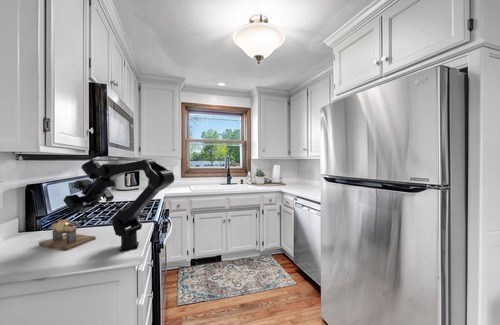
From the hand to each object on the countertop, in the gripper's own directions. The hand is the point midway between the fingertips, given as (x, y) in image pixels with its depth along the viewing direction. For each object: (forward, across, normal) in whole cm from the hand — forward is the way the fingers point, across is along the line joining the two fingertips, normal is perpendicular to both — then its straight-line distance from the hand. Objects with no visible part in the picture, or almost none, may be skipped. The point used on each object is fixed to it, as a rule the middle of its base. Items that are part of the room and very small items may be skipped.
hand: (81, 211), depth 100 cm
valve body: (+11, +4, +5) cm, 13 cm away
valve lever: (+6, 0, +2) cm, 6 cm away
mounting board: (+12, +3, +6) cm, 14 cm away
